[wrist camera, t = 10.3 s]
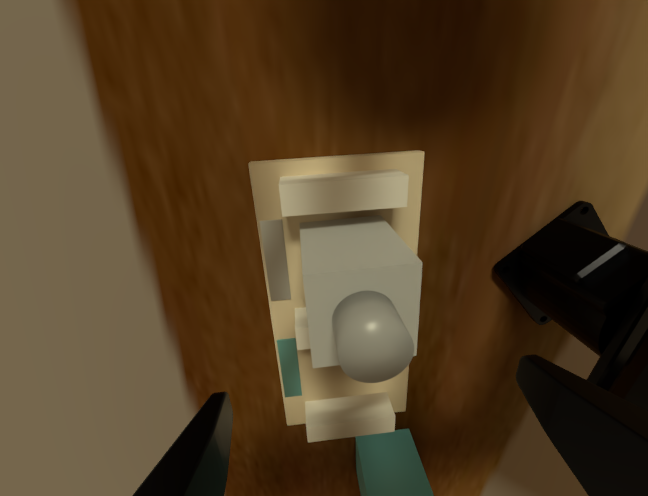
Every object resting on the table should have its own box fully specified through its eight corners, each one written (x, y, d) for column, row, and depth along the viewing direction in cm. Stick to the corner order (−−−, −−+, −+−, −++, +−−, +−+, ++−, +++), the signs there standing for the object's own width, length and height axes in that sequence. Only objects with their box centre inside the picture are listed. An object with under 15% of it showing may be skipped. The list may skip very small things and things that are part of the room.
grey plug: (380, 215, 17) (446, 290, 10) (380, 285, 19) (435, 394, 11) (299, 222, 17) (304, 306, 9) (306, 293, 19) (316, 409, 11)
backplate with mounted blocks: (418, 150, 17) (441, 156, 14) (402, 402, 24) (415, 436, 22) (250, 161, 16) (242, 170, 13) (287, 416, 24) (286, 452, 21)
